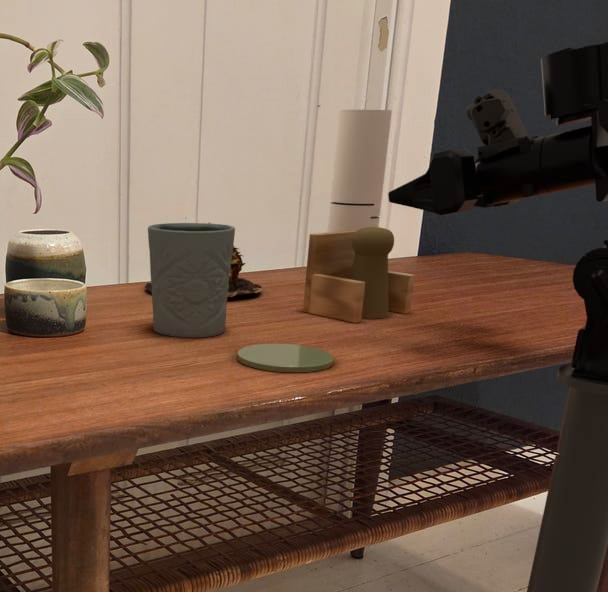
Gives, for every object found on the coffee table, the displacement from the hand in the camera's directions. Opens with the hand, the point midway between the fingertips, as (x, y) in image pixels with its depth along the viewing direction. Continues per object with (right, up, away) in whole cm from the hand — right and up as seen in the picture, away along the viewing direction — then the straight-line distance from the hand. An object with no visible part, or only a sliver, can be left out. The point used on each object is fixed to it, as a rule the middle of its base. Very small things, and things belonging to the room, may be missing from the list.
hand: (407, 195), depth 102 cm
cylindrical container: (0, -5, +30) cm, 31 cm away
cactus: (-21, -5, +28) cm, 35 cm away
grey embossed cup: (-25, -15, +4) cm, 30 cm away
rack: (-2, -11, +15) cm, 19 cm away
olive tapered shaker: (-1, -11, +14) cm, 18 cm away
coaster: (-16, -20, -9) cm, 27 cm away
